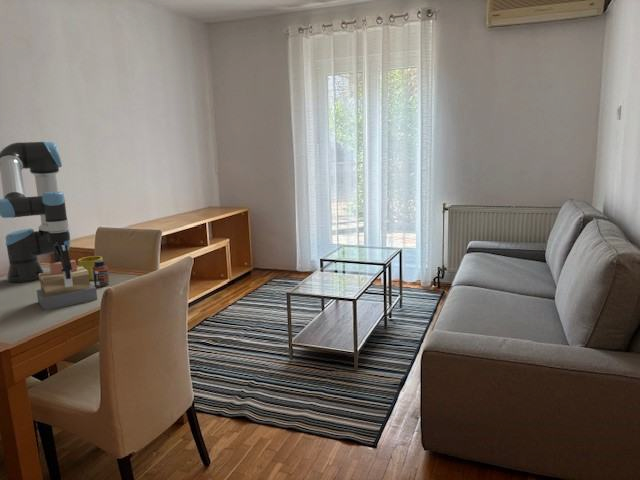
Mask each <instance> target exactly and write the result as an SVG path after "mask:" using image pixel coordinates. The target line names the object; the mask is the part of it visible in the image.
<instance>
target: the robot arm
mask: <svg viewBox="0 0 640 480" xmlns="http://www.w3.org/2000/svg"><path fill="white" fill-rule="evenodd" d="M62 167H63V164H62V160H61V156H60V153H59V149H58V146H57V145H56V143H54V141H53V142H52V141H51V142H50V141H29V142H28V141H27V142H19V141H18V142H13V143H10V144H8V145H7V146H5V147H4V148H2V149H1V151H0V179H1V180H0V181H1V187H2V196H3V198H0V217H1V218H4V219H8V218H13V219H14V218H19V217H30V216H40V222H41V223H40V225H39V226H38V230H37V231H35V230H34V229H33V228H25V229H20V230H19V229H18V230H16V231H12V232H9V233H8V234H7V235H6V236H5V246H6V250H7V257H8V263H9V266H8V271H7V276H6V277H7V282H9V283H25V282H26V283H27V282H32V281H36V280H40V279H39V273H45V271H44V269H43V267H42V265H41V264H40V262H39V258H38V256H42V255H44V256H45V255H52V254H53V262H54V263H56V262H61V263H62V267H63V269H62V272H63V276H64V283H65V287H71V286H73V282H72V274H71V269H72V267H71V262H70V260H71V259H70V256H69V251H70V246H71V231H70V227H69V222H68V221H69V220H68V217H67V210H66V209H67V207H66V199H65V196H64V193H63V191H59V189H58V182H57V174H58V173H59V172H60V170H59V168H62ZM25 169H29V172H30V173H31V175H33V176H34V179H35V187H36V194H37V196H26V192H25V191H26V190H25V185H24V179H23V174H22V170H25Z"/></svg>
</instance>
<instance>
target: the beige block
mask: <svg viewBox="0 0 640 480" xmlns="http://www.w3.org/2000/svg"><path fill="white" fill-rule="evenodd" d="M71 274H72V282H73V286H71V287H65V283H64V276H63V273H62V274H57V275H52V274H51V272H50V271H47V272H45V271H44V273H39V279H38V280H39V285H40V289H41V291H43V293H45V296H49V295H54V294H59V293H64V292H69V291H74V290H79V289H85V288H90V283H91V280H89V273H88V270H87V269H85V268H84V267H82V266H81V267H79V266H77V271H74V272H71Z"/></svg>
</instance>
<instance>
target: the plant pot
mask: <svg viewBox="0 0 640 480" xmlns="http://www.w3.org/2000/svg"><path fill="white" fill-rule="evenodd" d="M98 260H103V257H102V256H100V255H93V256H85V257H81V258H79V259H78V260H77V266H78V267H81V266H82V267H84V268H85V269H87V270H88V273H89V280H90V281H94V276H93V267H94V266H95V263H94V262H95V261H98Z"/></svg>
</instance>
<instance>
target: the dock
mask: <svg viewBox="0 0 640 480" xmlns="http://www.w3.org/2000/svg"><path fill="white" fill-rule="evenodd" d="M36 297H37V302H38V304H39V305H40V306H41V308H42V309H43V311H49V310H53V309H59V308H63V307H68V306H73V305H77V304H82V303H87V302H91V301H97V300H98V293H97V287H96V286H95V285H93V284H92V283H91V282H90V288H85V289H79V290H74V291H69V292H64V293H59V294H54V295H49V296H45V293H43V291H41V288H40V289H36Z"/></svg>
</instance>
